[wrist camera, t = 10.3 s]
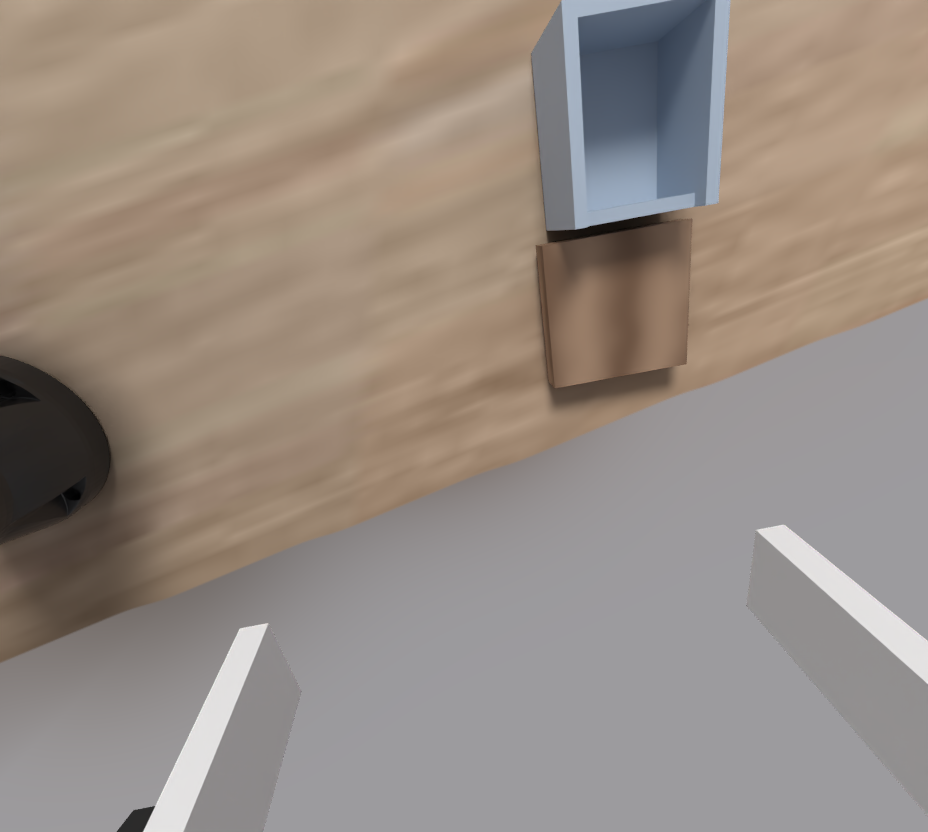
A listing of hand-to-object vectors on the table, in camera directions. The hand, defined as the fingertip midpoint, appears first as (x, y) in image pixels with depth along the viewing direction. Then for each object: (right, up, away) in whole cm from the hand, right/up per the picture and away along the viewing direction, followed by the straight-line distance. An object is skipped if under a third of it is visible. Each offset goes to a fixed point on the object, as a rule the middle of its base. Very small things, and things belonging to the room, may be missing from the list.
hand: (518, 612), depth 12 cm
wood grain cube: (+10, +15, +24) cm, 30 cm away
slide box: (+8, +25, +19) cm, 33 cm away
